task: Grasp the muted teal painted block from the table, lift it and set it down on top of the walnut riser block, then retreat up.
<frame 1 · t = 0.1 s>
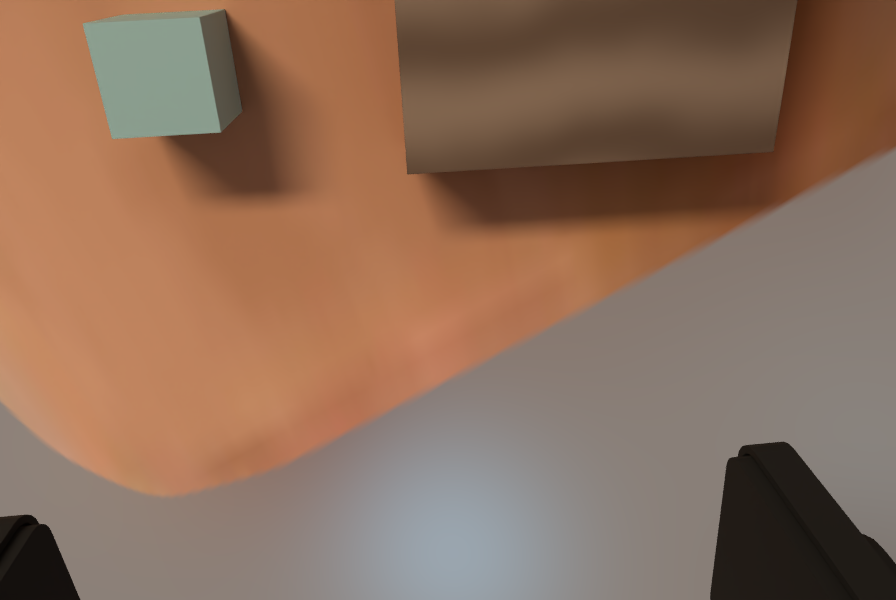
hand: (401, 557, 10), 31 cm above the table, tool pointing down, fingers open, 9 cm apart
teal block: (185, 64, 36), on the table
walnut riser: (574, 1, 36), on the table
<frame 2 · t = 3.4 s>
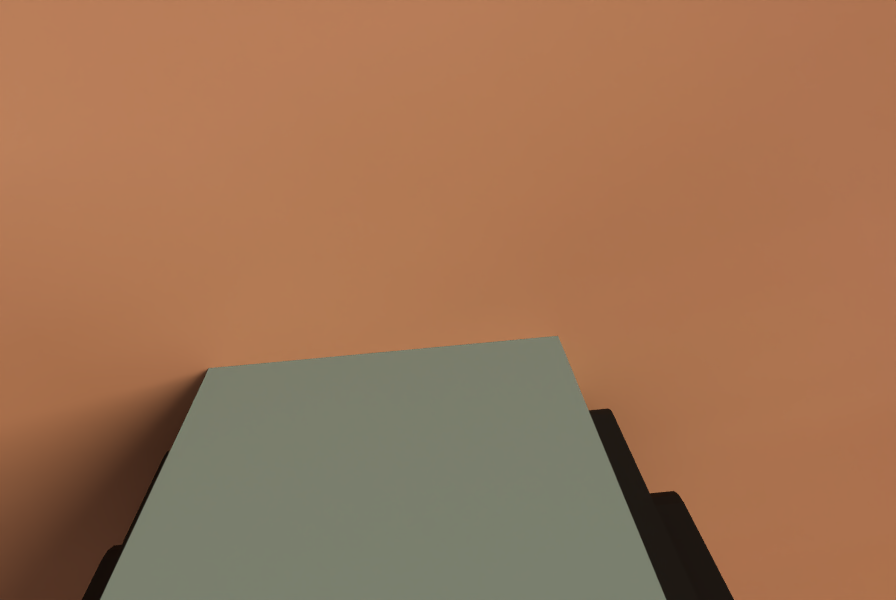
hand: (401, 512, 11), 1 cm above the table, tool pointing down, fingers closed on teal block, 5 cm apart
teal block: (402, 488, 11), on the table, touching gripper
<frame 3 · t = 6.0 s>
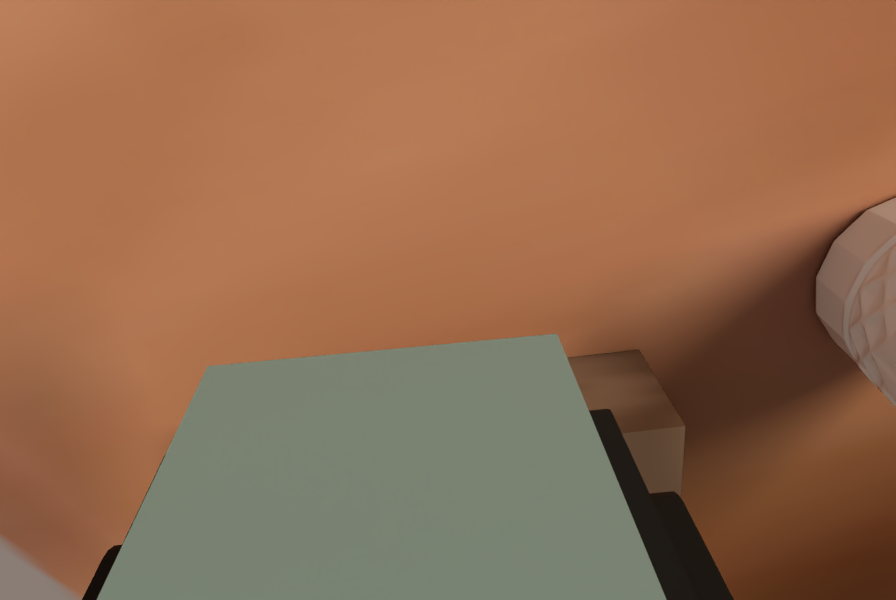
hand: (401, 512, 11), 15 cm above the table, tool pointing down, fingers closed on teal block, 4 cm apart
teal block: (401, 486, 11), point 15 cm above the table, touching gripper
walnut riser: (478, 542, 31), on the table
when the fingers open (7 cm above the table, at t = 8.9 s): teal block drops 1 cm, resting on walnut riser.
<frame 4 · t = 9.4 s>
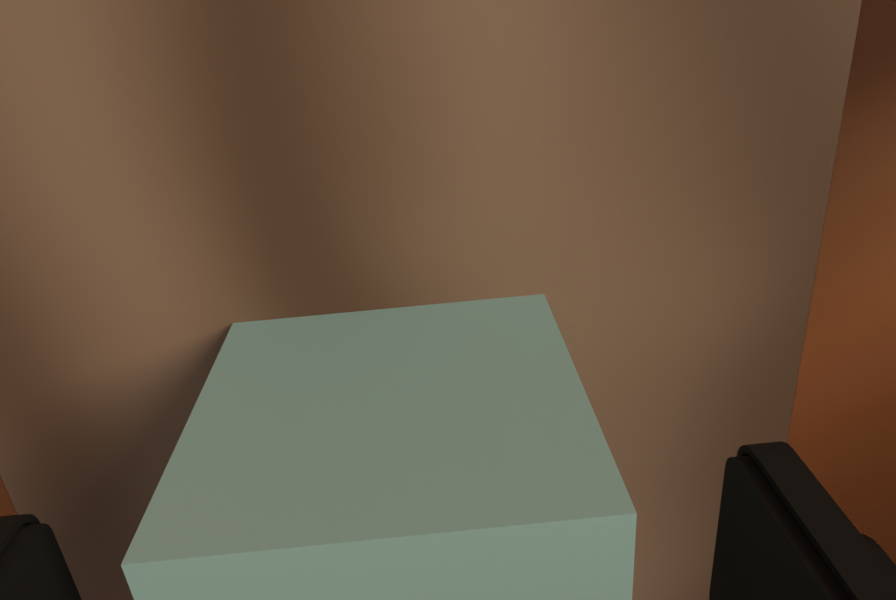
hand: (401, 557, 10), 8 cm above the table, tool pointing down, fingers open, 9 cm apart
teal block: (404, 435, 12), point 5 cm above the table, touching walnut riser
walnut riser: (401, 309, 17), on the table
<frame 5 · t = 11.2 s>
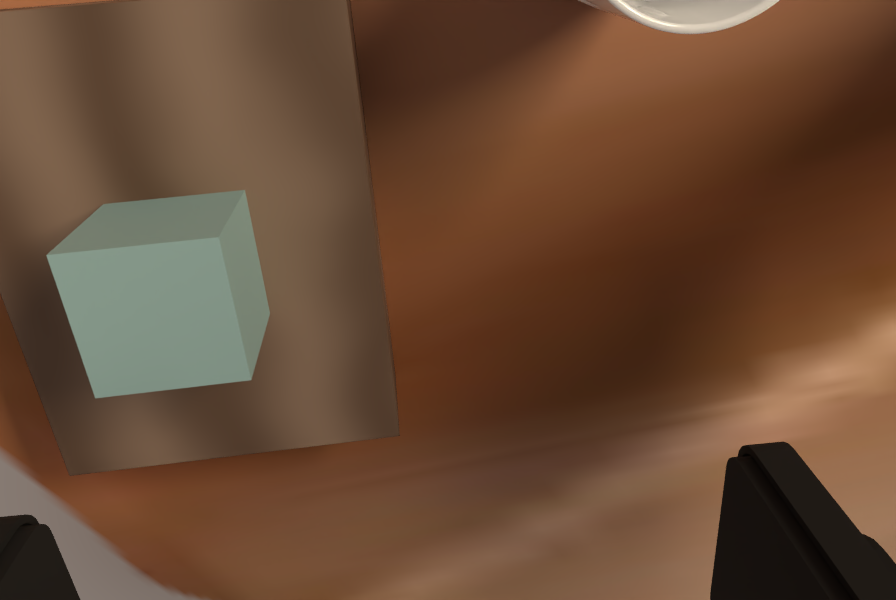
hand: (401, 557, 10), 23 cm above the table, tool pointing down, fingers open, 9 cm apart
teal block: (190, 261, 26), point 5 cm above the table, touching walnut riser
walnut riser: (214, 219, 31), on the table
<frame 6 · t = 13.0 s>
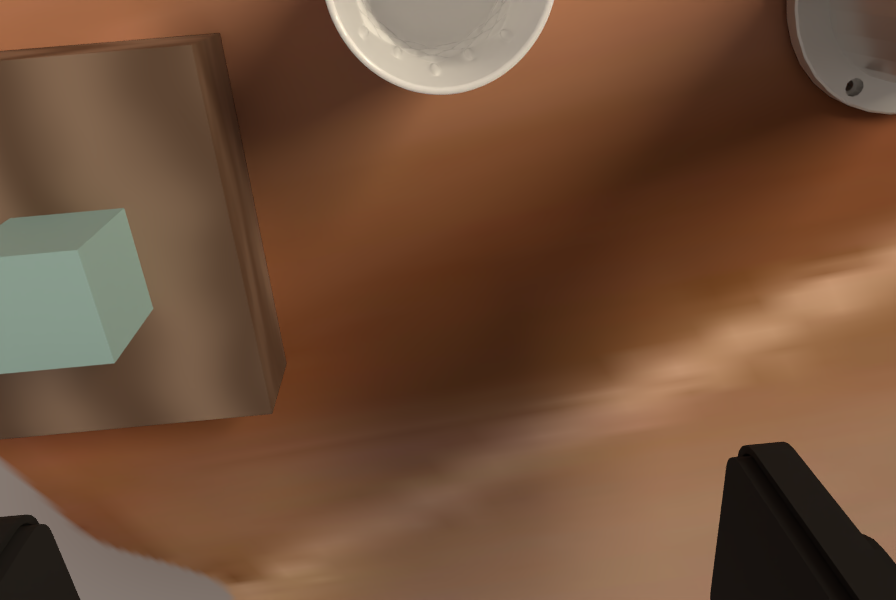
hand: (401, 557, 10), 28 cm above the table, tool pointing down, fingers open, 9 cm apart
teal block: (84, 265, 32), point 5 cm above the table, touching walnut riser
walnut riser: (121, 227, 37), on the table
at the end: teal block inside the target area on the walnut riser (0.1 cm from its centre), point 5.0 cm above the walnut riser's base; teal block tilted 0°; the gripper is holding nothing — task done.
